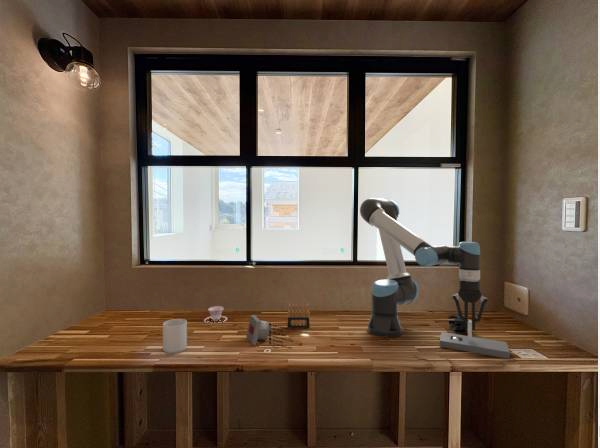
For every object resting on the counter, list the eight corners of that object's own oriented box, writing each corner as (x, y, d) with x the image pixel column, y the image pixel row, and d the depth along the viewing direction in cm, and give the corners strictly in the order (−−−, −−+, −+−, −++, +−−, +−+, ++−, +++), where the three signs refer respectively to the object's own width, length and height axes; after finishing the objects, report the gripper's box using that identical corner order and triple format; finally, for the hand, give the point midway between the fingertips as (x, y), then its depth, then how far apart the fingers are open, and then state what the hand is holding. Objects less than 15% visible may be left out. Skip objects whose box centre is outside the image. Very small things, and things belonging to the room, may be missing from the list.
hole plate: (439, 346, 128) (439, 340, 128) (441, 337, 137) (441, 331, 137) (509, 358, 116) (509, 352, 116) (506, 348, 126) (506, 342, 126)
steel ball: (460, 345, 128) (452, 346, 129) (460, 342, 130) (453, 343, 132) (457, 337, 128) (450, 339, 129) (457, 335, 131) (450, 336, 132)
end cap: (472, 334, 141) (472, 319, 141) (455, 333, 142) (455, 319, 142) (463, 326, 151) (463, 313, 151) (448, 326, 152) (448, 312, 152)
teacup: (224, 324, 154) (224, 312, 154) (200, 324, 155) (200, 311, 154) (230, 316, 166) (230, 305, 166) (207, 316, 167) (207, 305, 166)
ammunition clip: (287, 327, 149) (287, 303, 149) (287, 326, 151) (287, 302, 151) (309, 328, 149) (309, 303, 149) (309, 326, 151) (309, 302, 151)
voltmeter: (237, 342, 132) (237, 319, 131) (254, 333, 141) (254, 312, 141) (290, 356, 118) (290, 330, 118) (305, 346, 128) (305, 322, 128)
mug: (184, 354, 120) (184, 325, 120) (160, 355, 118) (159, 326, 118) (190, 342, 132) (190, 315, 132) (168, 343, 130) (168, 316, 130)
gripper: (451, 279, 127) (451, 337, 127) (488, 282, 121) (488, 343, 121) (452, 277, 133) (452, 331, 134) (487, 279, 127) (487, 336, 127)
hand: (469, 337), depth 127 cm, fingers closed
